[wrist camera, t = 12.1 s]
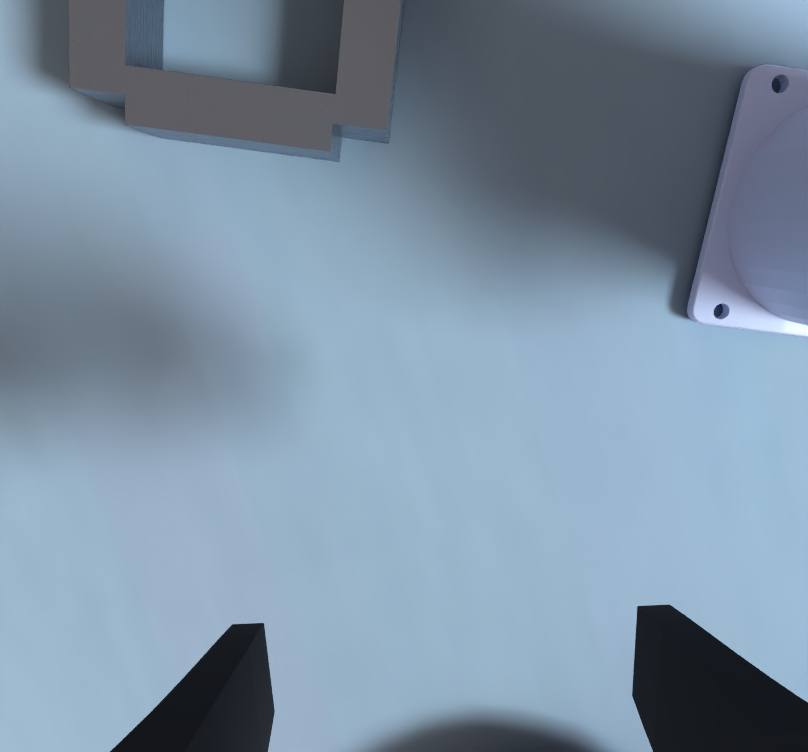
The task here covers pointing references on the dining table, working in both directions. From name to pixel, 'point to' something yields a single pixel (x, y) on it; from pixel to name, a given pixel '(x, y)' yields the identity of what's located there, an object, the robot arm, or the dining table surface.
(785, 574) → the dining table surface
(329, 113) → the socket collar
